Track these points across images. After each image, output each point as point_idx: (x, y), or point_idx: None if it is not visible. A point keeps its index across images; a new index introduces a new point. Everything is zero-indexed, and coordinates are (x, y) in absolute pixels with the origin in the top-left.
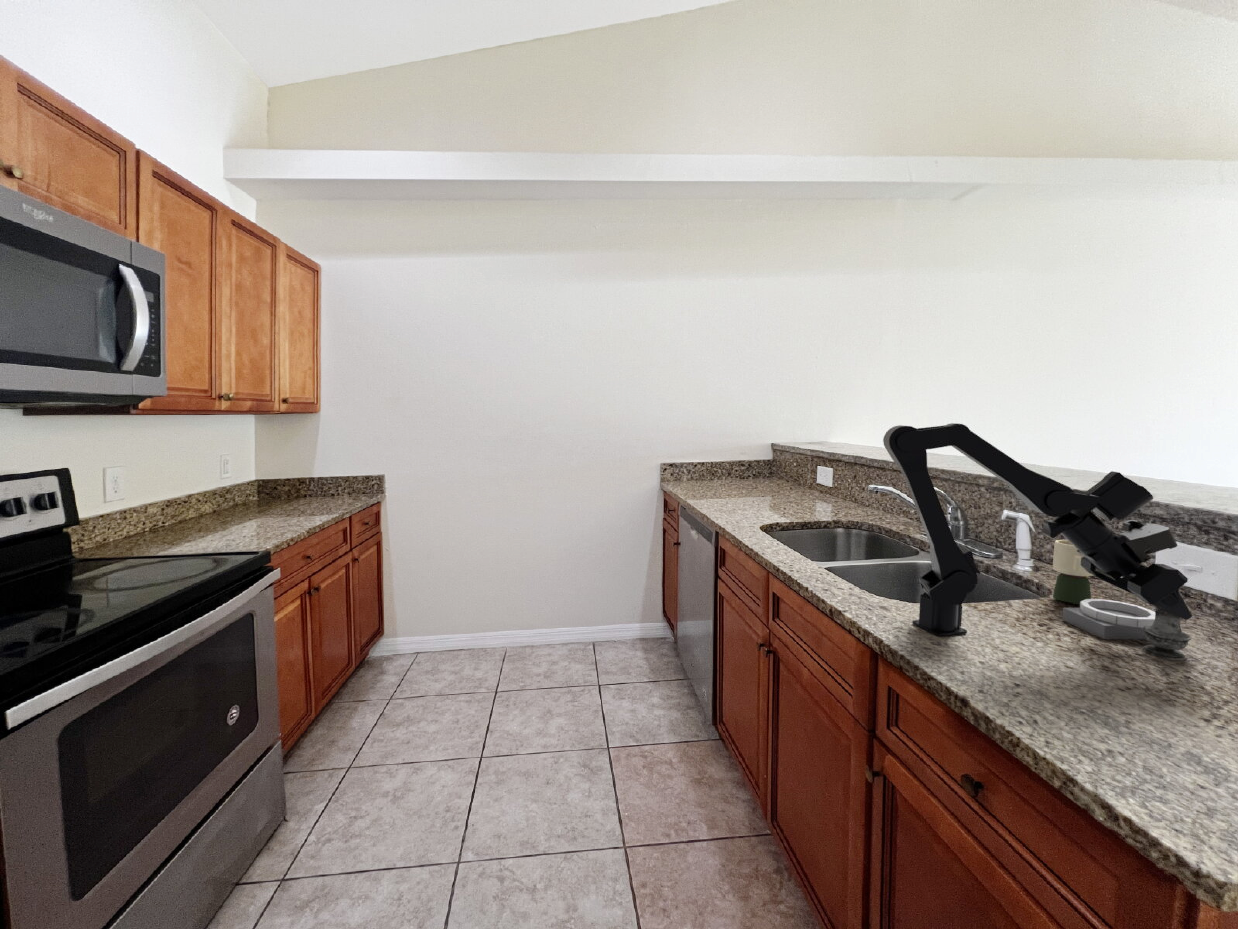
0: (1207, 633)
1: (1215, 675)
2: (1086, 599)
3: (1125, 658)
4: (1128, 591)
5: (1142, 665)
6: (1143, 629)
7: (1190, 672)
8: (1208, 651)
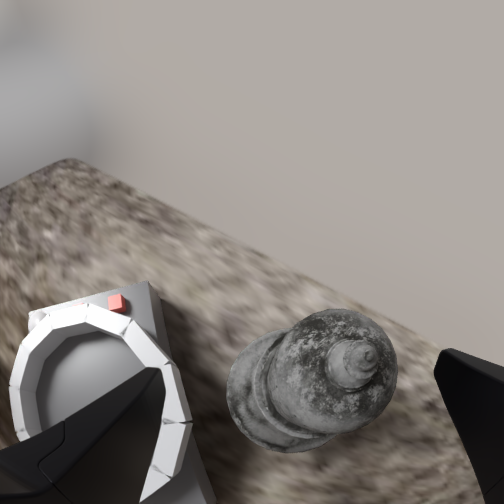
0: (115, 209)
1: (398, 344)
2: (18, 436)
3: (361, 499)
4: (143, 486)
5: (395, 475)
6: (285, 452)
7: (402, 390)
8: (230, 271)
